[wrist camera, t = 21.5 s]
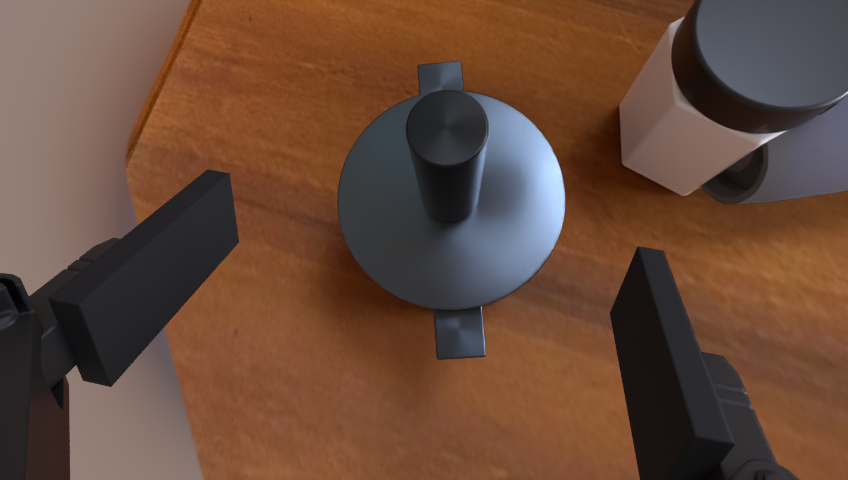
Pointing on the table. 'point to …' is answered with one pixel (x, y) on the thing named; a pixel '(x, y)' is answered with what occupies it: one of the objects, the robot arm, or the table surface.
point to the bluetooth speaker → (791, 164)
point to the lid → (451, 200)
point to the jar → (731, 85)
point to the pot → (464, 327)
